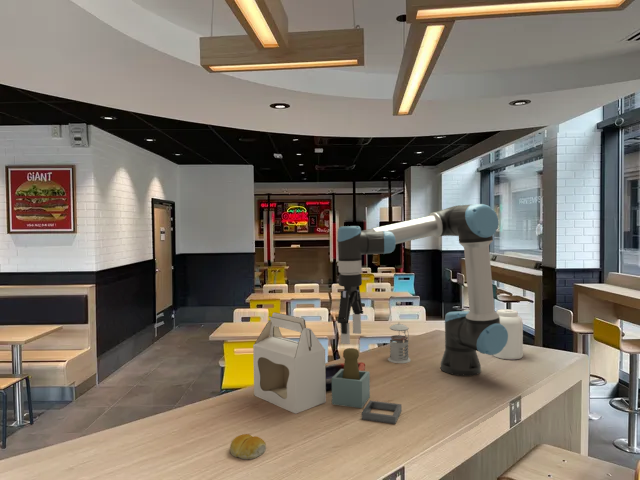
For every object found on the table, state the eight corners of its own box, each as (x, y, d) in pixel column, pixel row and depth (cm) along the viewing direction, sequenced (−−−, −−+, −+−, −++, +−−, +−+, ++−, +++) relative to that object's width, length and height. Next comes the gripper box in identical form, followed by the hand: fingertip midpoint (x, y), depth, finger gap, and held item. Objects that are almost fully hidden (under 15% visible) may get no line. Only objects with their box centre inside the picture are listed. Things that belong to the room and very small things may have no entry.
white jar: (519, 352, 202) (519, 308, 201) (525, 361, 190) (525, 313, 189) (489, 351, 205) (489, 307, 204) (493, 359, 193) (493, 312, 192)
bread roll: (244, 441, 122) (244, 426, 122) (270, 449, 117) (270, 434, 117) (222, 454, 115) (222, 439, 115) (249, 464, 110) (248, 447, 110)
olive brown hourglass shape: (359, 385, 145) (359, 351, 145) (340, 384, 146) (340, 351, 146) (361, 379, 151) (361, 346, 151) (343, 378, 152) (343, 346, 152)
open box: (369, 396, 152) (369, 371, 152) (362, 408, 143) (361, 381, 142) (341, 393, 155) (341, 368, 155) (331, 404, 146) (331, 378, 146)
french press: (383, 360, 193) (382, 301, 192) (397, 354, 202) (397, 298, 201) (403, 364, 187) (403, 304, 186) (417, 358, 196) (416, 300, 195)
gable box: (253, 395, 155) (252, 313, 154) (283, 385, 164) (282, 308, 163) (296, 414, 139) (294, 323, 138) (326, 402, 148) (325, 317, 147)
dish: (287, 385, 164) (287, 371, 164) (353, 369, 182) (352, 357, 182) (311, 398, 152) (311, 383, 152) (379, 379, 169) (379, 366, 169)
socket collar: (401, 410, 140) (401, 404, 140) (395, 424, 131) (395, 417, 131) (369, 406, 144) (369, 400, 144) (361, 419, 134) (361, 412, 134)
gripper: (349, 269, 161) (351, 328, 161) (326, 277, 137) (328, 347, 138) (370, 269, 158) (371, 330, 159) (350, 278, 135) (351, 349, 135)
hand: (351, 338), depth 148 cm, fingers open, 13 cm apart
